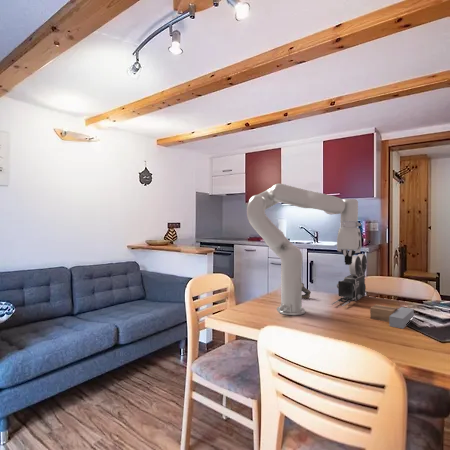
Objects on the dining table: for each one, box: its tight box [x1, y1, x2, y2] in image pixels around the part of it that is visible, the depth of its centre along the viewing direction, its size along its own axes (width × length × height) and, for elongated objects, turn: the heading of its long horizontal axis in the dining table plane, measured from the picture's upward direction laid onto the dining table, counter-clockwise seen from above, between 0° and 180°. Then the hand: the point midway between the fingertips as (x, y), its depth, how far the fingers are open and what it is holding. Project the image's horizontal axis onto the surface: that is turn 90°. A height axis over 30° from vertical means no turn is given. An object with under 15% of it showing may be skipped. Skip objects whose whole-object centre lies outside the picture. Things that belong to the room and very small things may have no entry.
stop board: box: [388, 306, 415, 330], centre depth 134 cm, size 18×5×4 cm, turn 138°
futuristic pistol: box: [302, 282, 311, 299], centre depth 177 cm, size 2×15×10 cm, turn 82°
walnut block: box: [369, 304, 399, 323], centre depth 139 cm, size 7×9×5 cm
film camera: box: [331, 253, 368, 307], centre depth 172 cm, size 40×12×24 cm, turn 141°
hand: (348, 264), depth 149 cm, fingers closed
